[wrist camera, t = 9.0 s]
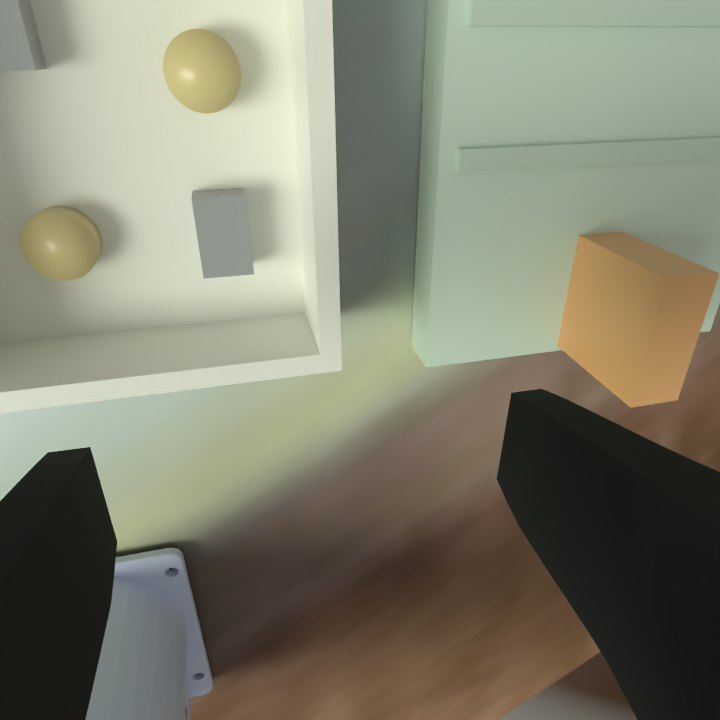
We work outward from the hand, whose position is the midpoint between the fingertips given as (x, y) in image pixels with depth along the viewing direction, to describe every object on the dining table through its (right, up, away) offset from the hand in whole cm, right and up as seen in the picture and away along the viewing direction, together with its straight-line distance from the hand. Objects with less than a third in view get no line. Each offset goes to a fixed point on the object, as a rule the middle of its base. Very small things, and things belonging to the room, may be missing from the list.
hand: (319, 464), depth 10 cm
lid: (+8, +8, +8) cm, 14 cm away
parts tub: (-6, +8, +5) cm, 11 cm away
